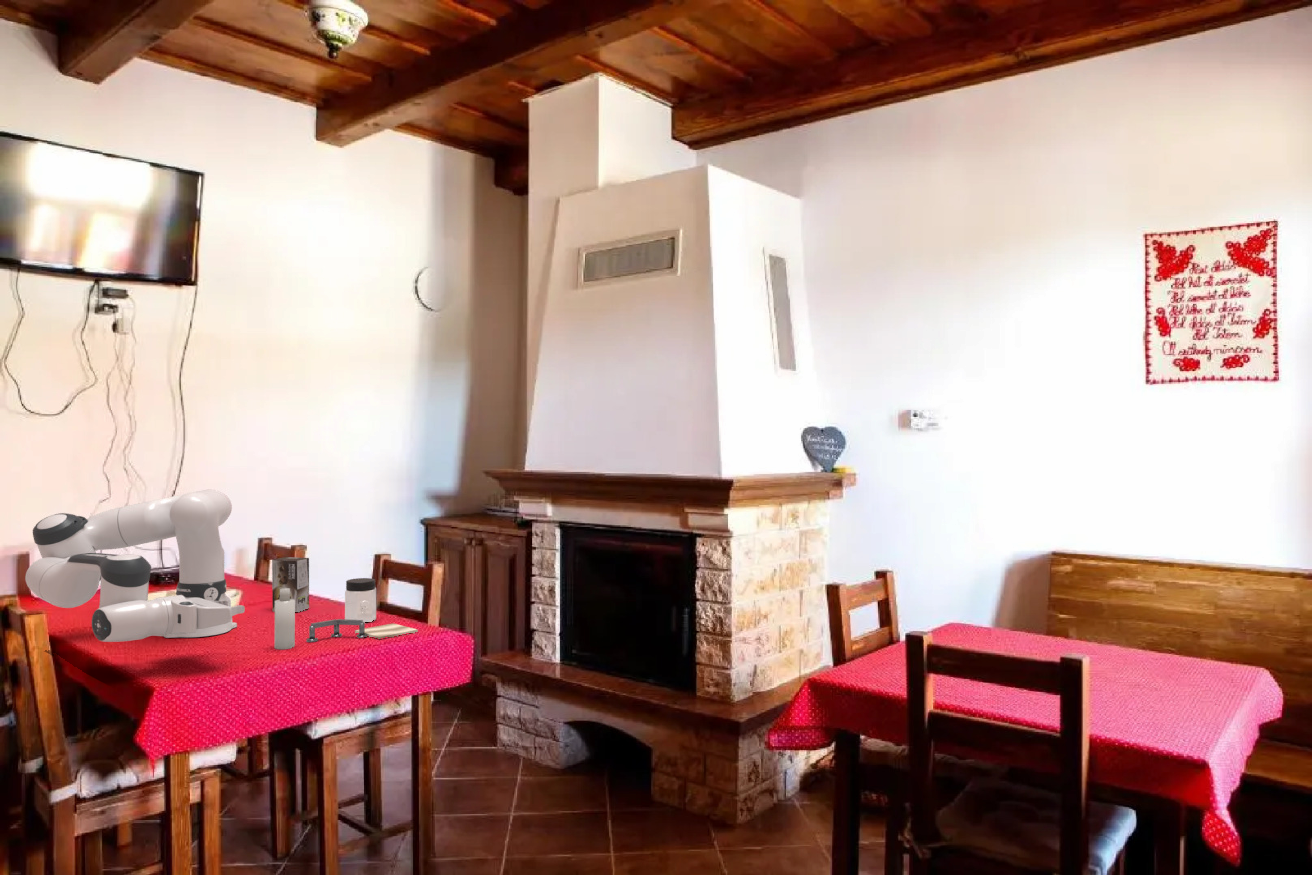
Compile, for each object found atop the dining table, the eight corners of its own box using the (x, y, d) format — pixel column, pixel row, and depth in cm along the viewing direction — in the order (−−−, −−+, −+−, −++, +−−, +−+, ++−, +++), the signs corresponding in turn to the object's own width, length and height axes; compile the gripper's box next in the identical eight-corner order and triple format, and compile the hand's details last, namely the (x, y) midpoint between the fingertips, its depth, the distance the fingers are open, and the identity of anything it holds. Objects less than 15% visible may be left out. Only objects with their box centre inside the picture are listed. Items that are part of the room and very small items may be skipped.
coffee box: (310, 609, 277) (310, 557, 277) (297, 613, 271) (297, 560, 271) (284, 607, 279) (284, 556, 279) (271, 611, 273) (271, 559, 273)
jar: (348, 625, 254) (348, 583, 254) (341, 620, 261) (341, 579, 261) (380, 621, 259) (380, 580, 259) (372, 617, 266) (372, 577, 266)
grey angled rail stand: (304, 641, 235) (304, 623, 235) (351, 632, 245) (352, 615, 245) (321, 646, 229) (321, 628, 229) (369, 637, 240) (369, 620, 240)
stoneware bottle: (271, 647, 228) (271, 588, 228) (289, 643, 232) (289, 586, 232) (280, 650, 225) (280, 591, 225) (298, 646, 229) (298, 588, 229)
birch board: (355, 633, 244) (355, 630, 244) (393, 626, 254) (393, 623, 254) (379, 639, 237) (379, 636, 237) (417, 632, 246) (417, 629, 246)
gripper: (158, 621, 215) (217, 613, 225) (192, 634, 201) (253, 624, 211) (158, 595, 215) (217, 588, 225) (192, 606, 201) (253, 598, 211)
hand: (234, 606), depth 218 cm, fingers open, 8 cm apart
